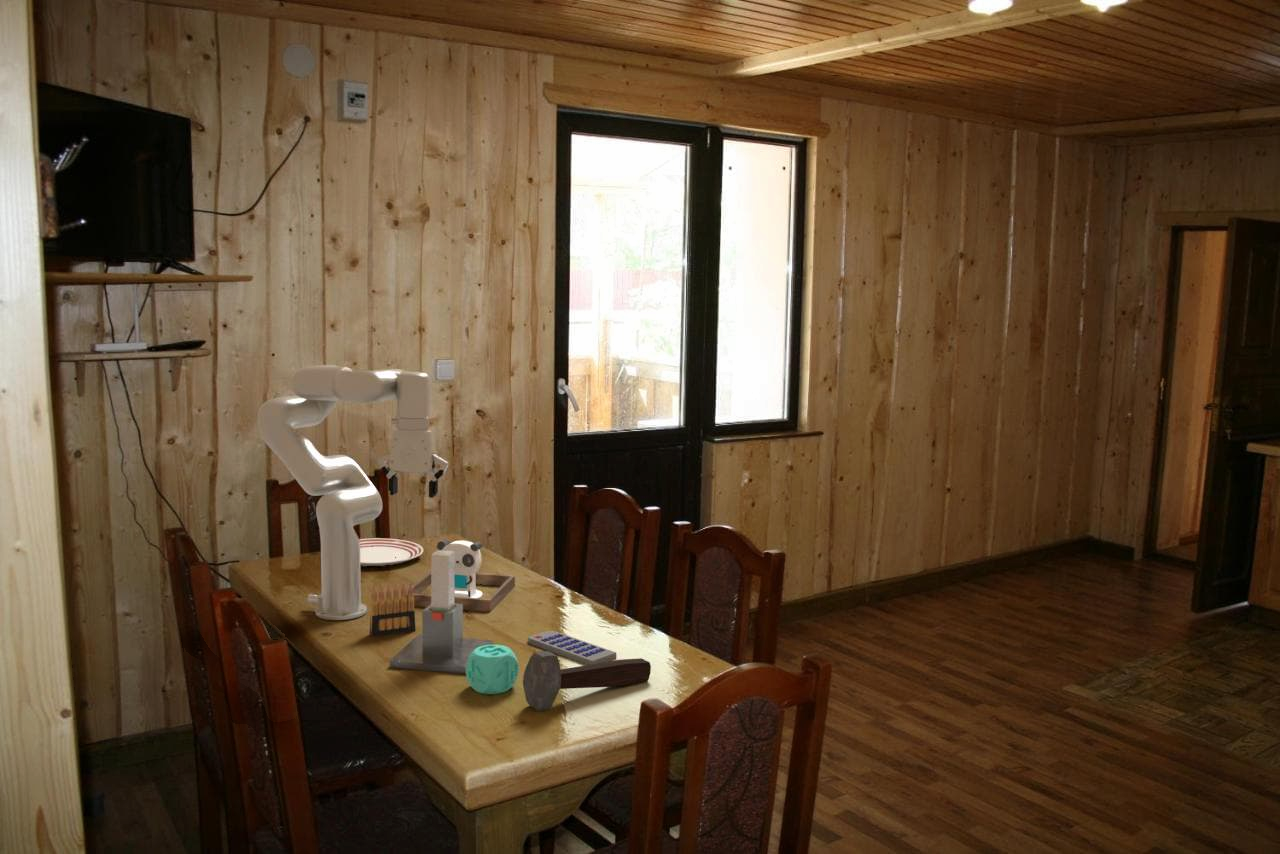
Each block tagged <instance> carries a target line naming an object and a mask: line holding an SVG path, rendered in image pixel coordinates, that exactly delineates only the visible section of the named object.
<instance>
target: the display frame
mask: <svg viewBox="0 0 1280 854" xmlns="http://www.w3.org/2000/svg"><path fill="white" fill-rule="evenodd" d="M430 584H431V571H429V572H428V573H427V574H426V575H424V576H423V577H422V578H420V579H419V580H417V581H416V582H415V583H414V584H412V586H413V596H414V607H424V608H427V607H428V606H429V605H430V604H431V594H424V593H423V594H422V592H423V591H425V590H426V589H427V588H428V587H430V586H431V585H430ZM480 584H482V585H483V586H494V585H496V586H497V587H498V588H497V590H495V591H494V592H493V593H492V594H491V595H490V596H489V597H488V598H482V597H481V598H467V597H454V603H457V604H463V611H476V612H492V611H493V609H494V608H496V607H497V606H498V604H500V602H501V601H502V600H504V598H505V597H506V596H507V595H508V594H509V593H510V591H512V590H513V589H514V588H515V587H516V575H513V574H499V573H498V574H497V573H486V572H485V573H484V572H476V585H480ZM429 585H430V586H429ZM427 586H428V587H427ZM514 586H515V587H514ZM426 587H427V588H426ZM425 588H426V589H425ZM408 589H409V587H408V588H407V589H406V599H408ZM424 589H425V590H424ZM421 591H422V592H421ZM420 592H421V593H420ZM419 593H420V594H419Z"/></svg>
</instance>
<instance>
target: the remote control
mask: <svg viewBox="0 0 1280 854" xmlns="http://www.w3.org/2000/svg"><path fill="white" fill-rule="evenodd" d="M527 641H528V642H527V643H529V644H530V645H532V646H535V647H537V648H540V649H543V650H544V651H549V652H551V653H553V654H555V655H556V654H557V655H560V656H562V657H565V658H567V659H571V660H573V661H576V662H578V663H581V664H583V665H591V664H597V663H603V662H608V661H614V660H616V659H617V652H616V651H612V650H610V649H607V648H604V647H602V646H598V645H596V644H593V643H591V642H590V643H589V642H587V641H584V640H581V639H579V638H576V637H573V636H570V635H567V634H564V633H562V632H558V631H555V630H547V631H545V630H544V631H542V632H539V633H536V634H532V635H529V636H528V639H527Z"/></svg>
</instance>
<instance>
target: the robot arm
mask: <svg viewBox="0 0 1280 854" xmlns="http://www.w3.org/2000/svg"><path fill="white" fill-rule="evenodd" d="M290 379H291V380H290V386H291V390H292V391H293V393H294V394H295V395H287V396H286V395H285V396H279V397H278V396H277V397H274V398H271V399H269V400H267V401H265V402H264V403H263V404H262V405H261V406H260V407H259V410H258V413H257V427H258V430H259V433H260V435H261V438H262V439H263V442H264V443H266V445H267V446H268V447H269V448H270V450H272V452H273V453H274V454H275V455H276V456H277V457H278V458H279V459H280V460H281V461H282V463H283V464H284V466H285V467H286V468H287V470H288V472H290V474H291V475H292V476H293V478H294V479H295V480H296V482H297V484H299V486H300V487H301V488H302V490H304V492H305V493H306V494H308V495H310V496H313V497H314V496H315V497H316V496H321V497H320V498H319V500H317V501H318V502H317V504H316V508H315V510H316V511H315V513H316V519H317V524H318V527H319V538H320V559H321V560H320V562H321V565H320V566H321V568H320V569H321V570H320V572H321V575H320V577H321V578H320V579H321V581H320V582H321V594H319V595H317V594H313V593H312V594H311V593H309V594H308V596H307V604H308V605H316V606H317V607H316V608H315V610H314V612H315V616H316V617H317V618H320V619H323V620H328V621H346V620H353V619H357V618H361V617H362V616H364V615H366V613H368V607H367V605H366V604H364V603H362V599H361V598H362V597H361V595H362V594H361V593H362V591H361V590H362V589H361V588H362V585H361V584H362V583H361V581H362V580H361V575H362V574H361V572H362V571H361V567H362V566H360V541H359V539H360V538H359V536H358V535H357V532H356V531H355V529H354V526H357V525H360V524H363V523H364V524H365V523H367V522H372V521H373V520H375V519H376V518H378V517H379V516H380V514H381V513H382V511H383V500H382V497H381V494H380V492H379V491H378V489H377V487H376V486H375V485H374V484H373V482H372V481H371V480H370V478H369V477H368V476H367V475H366V473H365V472H364V470H362V468H361V467H360V466H359V464H358V463H357V462H356V461H355V460H354V459H353V458H351V457H349V456H348V455H345V454H333V455H328V456H327V455H323V454H321V453H320V452H319V450H318V449H317V448H316V447H315V445H314V443H312V441H310V440H309V439H308V438H306V437H305V436H304V435H302V434H301V433H299V432H298V431H296V430H295V429H301V428H309V427H310V428H311V427H314V426H317V425H319V424H321V423H322V422H323V421H324V420H325V419H326V418H327V417H328V416H329V414H330V413H331V412H332V410H333V409H334V408H335V407H336V405H337V404H338V403H339V402H343V403H344V402H345V403H353V404H354V403H355V404H356V403H358V404H359V403H360V404H373V403H375V404H376V403H380V402H390V401H396V416H395V418H391V422H390V423H391V425H395V428H396V429H393V431H392V436H391V440H390V449H389V453H388V454H386V455H383V456H381V457H380V458H378V459H377V464H378V465H379V467H380V470H381V472H382V473H384V475H386V478H387V479H388V482H387V483H388V485H387V486H388V489H387V490H388V491H389V496H394V495H396V494H398V491H399V488H398V487H399V486H398V485H399V483H398V481H399V478H398V476H397V475H398V473H403V474H426V475H427V476H428V477H429V479H430V481H428V498H430V499H433V498H434V497H436V496H437V494H438V491H439V487H438V486H439V479H440V478H442V476H443V475H444V474H445V473H446V471H447V469H448V467H449V465H450V462H449V461H447V460H445V459H443V458H442V457H440V456H439V455H436V445H435V441H434V435H433V430H432V429H430V391H431V390H430V389H431V388H430V387H431V386H430V377H429V375H428V373H425V372H422V371H421V372H420V371H407V370H404V369H400V368H389V369H386V368H385V369H374V370H352V369H351V368H349V367H347V366H338V365H335V364H324V365H323V364H322V365H321V364H320V365H310V366H303V367H301V368H299V369H297V370H296V371H295V372H294V373H293V374H292V377H291V378H290ZM388 461H389V463H388V464H389V465H387V462H388ZM437 464H438V465H440V468H439V470H437V471H436V469H435V468H436V465H437Z"/></svg>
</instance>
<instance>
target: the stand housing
mask: <svg viewBox="0 0 1280 854" xmlns="http://www.w3.org/2000/svg"><path fill="white" fill-rule="evenodd" d="M463 611H464V610H463V604H457V603H455V607H454V608H453V609H452V610H451V611H450V612H449V611H436V610H431V604H430V605H429V606H428V607H424V609H423V610H422V613H421V615H422V621H421V622H422V632H421V633H422V634H417V635H416V636H415V637H414V638H413V639H412V640H411V641H410V642H408V644H406V645H405V646H404V647H403V648H402V649H401V650H400V651H398V652H397V653H396V654H395V655H394V656H393V657H392V658H391V659H390V660H389V668H392V669H405V670H415V671H426V672H427V671H429V672H440V673H441V672H442V673H453V674H463V675H464V674H465V675H466V664H467V660H468V658H469V656H470V655H471V653H472V652H473V651H474V650H475V649H476V648H478V647H480V646H484V645H494V644H493V641H494V640H493V639H483V638H470V637H469V638H467V637H463V631H464V630H463V628H464V627H463V626H464V625H463V624H464V623H463V622H464V619H463V617H464V616H463V615H464V612H463Z"/></svg>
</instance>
